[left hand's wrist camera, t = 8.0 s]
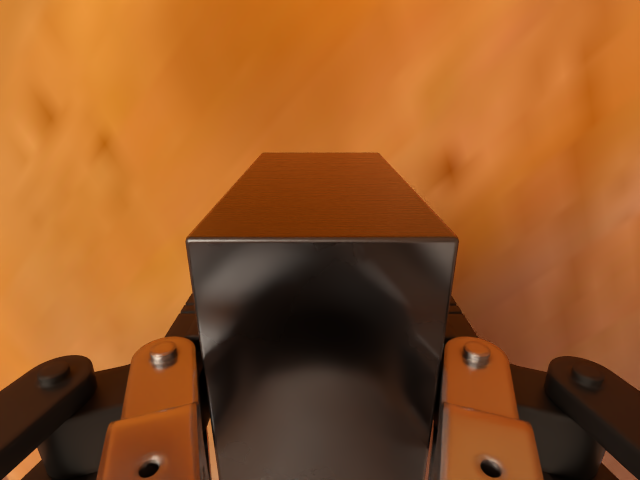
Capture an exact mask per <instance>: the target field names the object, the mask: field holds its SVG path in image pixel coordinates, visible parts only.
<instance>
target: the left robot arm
mask: <svg viewBox="0 0 640 480" xmlns="http://www.w3.org/2000/svg"><path fill="white" fill-rule="evenodd" d="M209 419H210V412H209V405H208V398H207V391H206V383H205V376H204V369H203V362H202V355H201V348H200V341H199V334H198V327H197V320H196V313H195V306H194V299H193V293H192V294H191V296H190V297H189V299H188V301H187V302H186V305H184V307H183V309H182V310H181V314H179V315H178V317H177V318H176V320H175V321H174V323H173V325H172V326H171V328H170V329H169V331H168V333H167V334H166V336H165V337H164V338H160V339H157V340H154V341H152V342H149V343H148V344H146V345H144V346H143V347H141V348H140V349H139V350H138V351H137V352H136V353H135V354H134V356H133V357H132V360H131V364H129V365H125V366H121V367H116V368H112V369H107V370H102V371H97V372H94V369H93V365H92V362H91V360H90V359H88V358H87V357H84V356H79V355H70V356H63V357H59V358H55V359H52V360H49V361H47V362H44V363H42V364H40V365H38V366H36V367H35V368H33V369H31V370H30V371H28V372H27V373H26V374H24V375H23V376H21V377H20V378H19V379H17V380H16V381H14V382H13V383H11V384H10V385H9V386H7V387H6V388H4V389H3V390H1V391H0V480H2V479H3V478H4V477H5V476H6V475H7V474H8V473H10V472H11V471H12V470H13V469H14V468H15V467H16V466H17V465H18V464H19V463H20V462H22V461H23V460H24V459H25V458H26V457H27V456H28V455H29V454H30V453H31V452H33V451H34V450H35V449H36V448H38V451H39V453H40V456H41V459H42V460H41V461H40V462H39V463H38V464H37V465H36V466H35V467H34V468H33V469H32V470H31V471H30V472H28V473H27V474H26V475H25V476H24V477H23V478H22V479H21V480H212V478H211V466H210V453H209V441H208V431H207V425H208V422H209ZM433 420H434V425H433V431H432V441H431V453H430V465H429V478H428V480H619V479H618V478H617V477H616V476H615V475H614V474H613V473H612V472H610V471H609V470H608V469H607V468H606V467H605V466H604V465H603V464H602V463H601V461H602V459H603V456H604V454H605V451H608V452H609V453H610V454H611V455H612V456H613V457H614V458H615V459H616V460H617V461H618V462H620V463H621V464H622V465H623V466H624V467H625V468H626V469H627V470H628V471H629V472H630V473H632V474H633V475H634V476H635V477H636V478H637V479H638V480H640V391H639V390H637V389H636V388H634V387H633V386H631V385H630V384H629V383H627V382H626V381H624V380H623V379H621V378H620V377H619V376H617V375H616V374H614V373H613V372H612V371H610V370H608V369H607V368H605V367H603V366H601V365H599V364H597V363H595V362H592V361H589V360H586V359H583V358H578V357H571V356H563V357H558V358H555V359H553V360H552V361H551V362H550V364H549V368H548V371H547V372H543V371H538V370H534V369H529V368H524V367H520V366H516V365H513V364H510V363H509V360H508V357H507V356H506V354H505V353H504V352H503V351H502V350H501V349H500V348H499V347H497V346H496V345H494V344H492V343H491V342H488V341H486V340H483V339H480V338H478V337H477V335H476V334H475V332H474V330H473V329H472V327H471V326H470V324H469V323H468V321H467V319H466V318H465V316H464V315H463V314H462V312H461V310H460V308H459V307H458V306H457V305H456V302H455V301H454V299H453V297H452V296H451V299H450V305H449V312H448V319H447V326H446V333H445V340H444V347H443V354H442V361H441V368H440V375H439V381H438V388H437V395H436V402H435V409H434V416H433Z"/></svg>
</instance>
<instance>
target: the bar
mask: <svg viewBox="0 0 640 480" xmlns="http://www.w3.org/2000/svg"><path fill="white" fill-rule="evenodd" d="M185 242H186V249H187V256H188V263H189V270H190V277H191V284H192V291H193V299H194V306H195V313H196V320H197V327H198V334H199V341H200V348H201V355H202V362H203V369H204V376H205V383H206V391H207V398H208V405H209V412H210V419H211V426H212V433H213V440H214V447H215V454H216V461H217V468H218V475H219V480H424V478H425V471H426V464H427V457H428V451H429V444H430V437H431V430H432V423H433V416H434V409H435V402H436V395H437V388H438V381H439V375H440V368H441V361H442V354H443V347H444V340H445V333H446V326H447V319H448V312H449V305H450V299H451V292H452V285H453V278H454V271H455V264H456V257H457V250H458V243H459V240H458V237H457V236H456V235H455V234H454V233H453V232H452V231H451V230H450V229H449V227H448V226H447V225H446V224H445V223H444V222H443V221H442V220H441V219H440V218H439V217H438V216H437V215H436V214H435V213H434V211H433V210H432V209H431V208H430V207H429V206H428V205H427V204H426V203H425V202H424V201H423V200H422V199H421V198H420V197H419V195H418V194H417V193H416V192H415V191H414V190H413V189H412V188H411V187H410V186H409V185H408V184H407V183H406V182H405V181H404V179H403V178H402V177H401V176H400V175H399V174H398V173H397V172H396V171H395V170H394V169H393V168H392V167H391V166H390V165H389V163H388V162H387V161H386V160H385V159H384V158H383V157H382V156H381V155H380V154H379V153H262V154H261V155H260V156H259V157H258V158H257V160H256V161H255V162H254V163H253V164H252V165H251V166H250V167H249V169H248V170H247V171H246V172H245V173H244V174H243V175H242V176H241V177H240V179H239V180H238V181H237V182H236V183H235V184H234V185H233V186H232V187H231V189H230V190H229V191H228V192H227V193H226V194H225V195H224V196H223V197H222V199H221V200H220V201H219V202H218V203H217V204H216V205H215V206H214V208H213V209H212V210H211V211H210V212H209V213H208V214H207V215H206V216H205V218H204V219H203V220H202V221H201V222H200V223H199V224H198V225H197V226H196V228H195V229H194V230H193V231H192V232H191V233H190V234H189V235H188V236H187V238H186V241H185Z"/></svg>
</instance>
